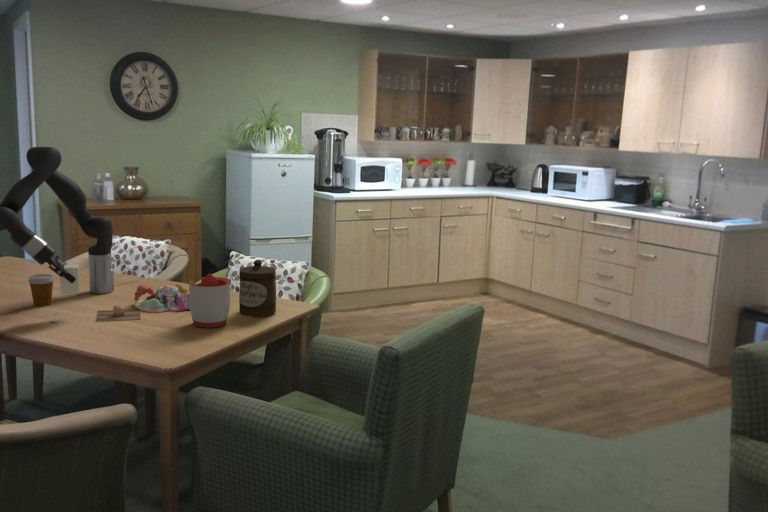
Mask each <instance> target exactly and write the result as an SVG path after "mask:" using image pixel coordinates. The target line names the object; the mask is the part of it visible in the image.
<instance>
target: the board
mask: <svg viewBox="0 0 768 512" xmlns="http://www.w3.org/2000/svg"><path fill="white" fill-rule="evenodd" d="M125 321H128V322H129V321H141V310H139V309H137V308H135V309H134V308H133V309H132V308H131V309H124V316H120V317H115V316H113V309H112V310H111V309H110V310H109V309H108V310H107V309H106V310H97V314H96V318H95V323H106V322H125Z"/></svg>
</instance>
